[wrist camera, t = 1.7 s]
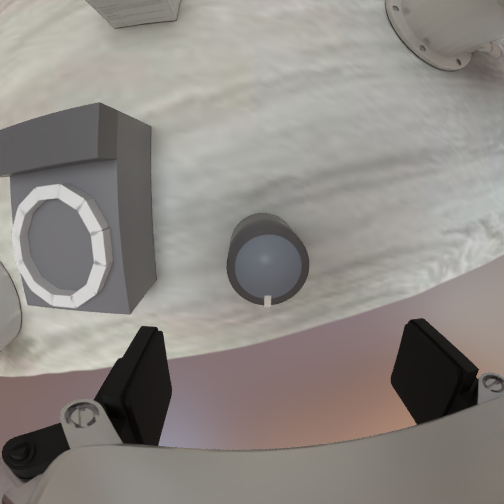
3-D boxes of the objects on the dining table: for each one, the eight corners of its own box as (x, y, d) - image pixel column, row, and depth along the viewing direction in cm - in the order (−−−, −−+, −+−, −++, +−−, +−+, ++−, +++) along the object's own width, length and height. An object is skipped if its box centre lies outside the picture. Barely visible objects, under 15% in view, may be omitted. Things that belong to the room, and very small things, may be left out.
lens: (294, 213, 28) (311, 226, 21) (292, 275, 29) (306, 306, 22) (230, 213, 27) (225, 226, 21) (230, 276, 29) (227, 308, 22)
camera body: (151, 126, 25) (99, 102, 14) (156, 279, 29) (116, 333, 18) (58, 140, 25) (-12, 134, 14) (68, 276, 29) (9, 318, 18)
